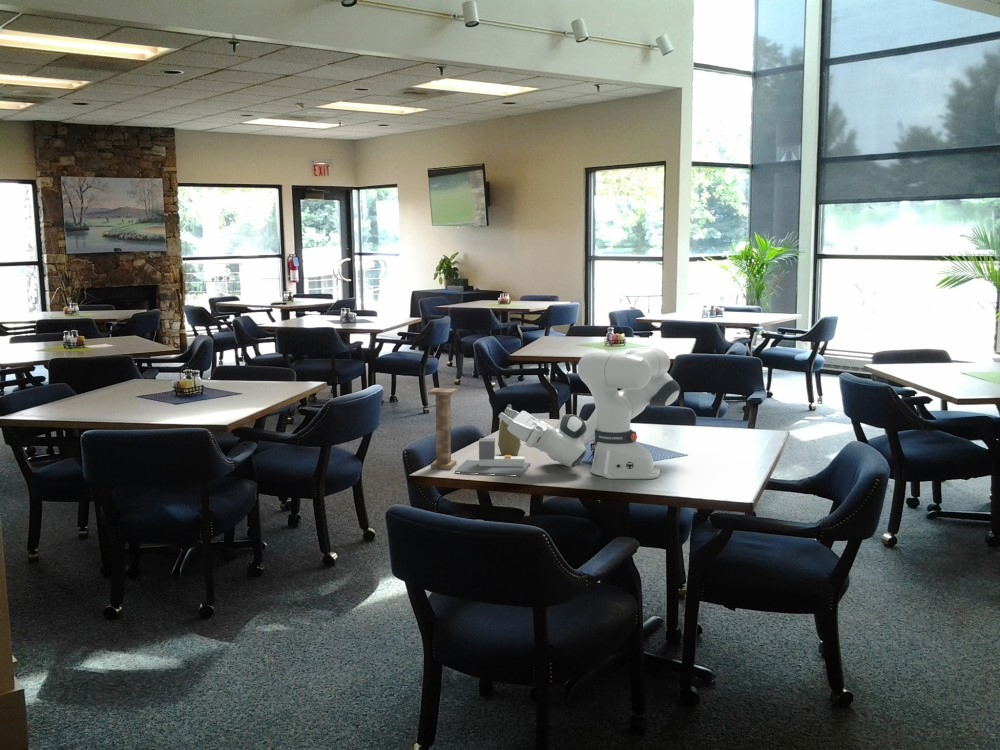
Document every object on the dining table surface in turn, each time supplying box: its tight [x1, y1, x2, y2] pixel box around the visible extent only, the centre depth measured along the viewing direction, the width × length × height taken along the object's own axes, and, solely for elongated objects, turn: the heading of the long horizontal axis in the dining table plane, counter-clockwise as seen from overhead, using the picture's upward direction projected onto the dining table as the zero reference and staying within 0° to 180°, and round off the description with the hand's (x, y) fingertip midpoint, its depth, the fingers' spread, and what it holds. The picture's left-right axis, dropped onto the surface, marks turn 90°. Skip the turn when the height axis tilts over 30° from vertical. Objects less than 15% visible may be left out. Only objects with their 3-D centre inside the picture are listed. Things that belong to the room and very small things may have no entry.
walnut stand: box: [427, 387, 459, 470], centre depth 310 cm, size 8×8×26 cm
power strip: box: [478, 437, 526, 467], centre depth 311 cm, size 15×5×8 cm, turn 87°
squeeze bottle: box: [497, 404, 522, 456], centre depth 329 cm, size 8×8×18 cm
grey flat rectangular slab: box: [454, 459, 531, 477], centre depth 309 cm, size 22×16×1 cm
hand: (502, 411), depth 305 cm, fingers open, 8 cm apart
